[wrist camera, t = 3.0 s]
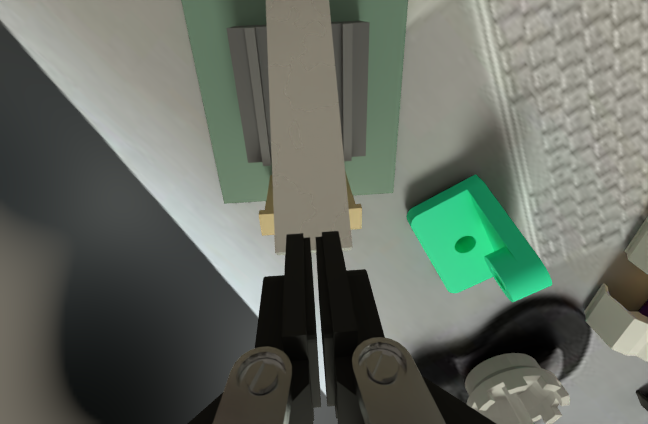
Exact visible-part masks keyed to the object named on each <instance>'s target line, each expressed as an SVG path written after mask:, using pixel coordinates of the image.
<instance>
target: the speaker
mask: <svg viewBox="0 0 648 424" xmlns="http://www.w3.org/2000/svg"><path fill="white" fill-rule="evenodd" d="M636 393H637V396H638V398H639V401H640V403H641V405H642V406H643V407H644V408H645V409H646V410H647V411H648V399H647V398H646V397H645V396H644V395H643V394H641V393H640V392H639V391H636Z"/></svg>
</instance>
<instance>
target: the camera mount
mask: <svg viewBox="0 0 648 424" xmlns="http://www.w3.org/2000/svg"><path fill="white" fill-rule="evenodd" d="M407 220H408V222H409V224H410V226H411V228H412V230H413V231H414V233H415V235H416V237H417V238H418V240H419V242H420V243H421V245H422V247H423V249H424V250H425V252H426V254H427V256H428V257H429V259H430V261H431V262H432V264H433V266H434V268H435V269H436V271H437V273H438V275H439V276H440V278H441V280H442V281H443V283H444V285H445V287H446V288H447V290H448V291H449V292H450V293H458V292H461V291H463V290H465V289H467V288H470V287H472V286H474V285H476V284H478V283H481V282H483V281H485V280H487V279H489V278H491V277H494V278H495V280H496V282H497V283H498V285H499V286H500V288H501V289H502V291H503V292H504V293H505V295H506V296H507V297H508V299H509V300H510V301H511V302H515V301H517V300H519V299H521V298H524V297H526V296H528V295H531V294H533V293H535V292H538V291H540V290H542V289H544V288H547V287H549V286H551V285H552V280H551V278H550V275H549V273H548V271H547V269H546V268H545V266H544V264H543V263H542V261H541V260H540V258H539V257H538V255H537V254H536V253H535V251H534V250H533V249H532V247H531V246H530V244H529V243H528V242H527V240H526V239H525V238H524V236H523V235H522V234H521V232H520V231H519V229H518V228H517V227H516V225H515V224H514V223H513V221H512V220H511V218H510V217H509V216H508V214H507V213H506V212H505V210H504V209H503V208H502V206H501V205H500V203H499V202H498V201H497V199H496V198H495V197H494V195H493V194H492V192H491V191H490V190H489V188H488V187H487V186H486V184H485V183H484V182H483V180H481V179H480V178H479V177H478V176H477V175H476V174H475V175H473V176H471V177H470V178H468V179H466V180H464V181H462V182H460V183H458V184H456V185H454V186H453V187H451V188H449V189H447V190H445V191H443V192H441V193H439V194H438V195H436V196H434V197H432V198H430V199H428V200H426V201H424V202H423V203H421V204H419V205H417V206H415V207H413V208H412V209H410V210H409V212H408V213H407Z"/></svg>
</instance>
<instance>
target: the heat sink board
mask: <svg viewBox="0 0 648 424" xmlns="http://www.w3.org/2000/svg"><path fill="white" fill-rule="evenodd" d="M181 1H182V5H183V10H184V15H185V20H186V24H187V29H188V34H189V39H190V43H191V48H192V53H193V58H194V62H195V67H196V72H197V76H198V81H199V86H200V91H201V95H202V100H203V105H204V110H205V114H206V119H207V124H208V129H209V133H210V138H211V143H212V147H213V152H214V157H215V162H216V166H217V171H218V176H219V181H220V185H221V190H222V195H223V200H224V204H226V203H242V202H257V201H266V206H265V210H260V211H259V219H260V226H261V232H262V236H263V235H275V232H274V206H273V180H272V154H271V127H270V101H269V75H268V49H267V23H266V0H181ZM329 6H330V17H331V27H332V38H333V48H334V59H335V70H336V80H337V91H338V101H339V112H340V122H341V133H342V144H343V154H344V165H345V175H346V186H347V196H348V207H349V218H350V228H351V229H361V224H362V207H361V204H355V201H354V198H353V195H368V194H383V193H393V188H394V175H395V162H396V149H397V136H398V123H399V110H400V97H401V85H402V72H403V59H404V46H405V33H406V20H407V7H408V0H329Z"/></svg>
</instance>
